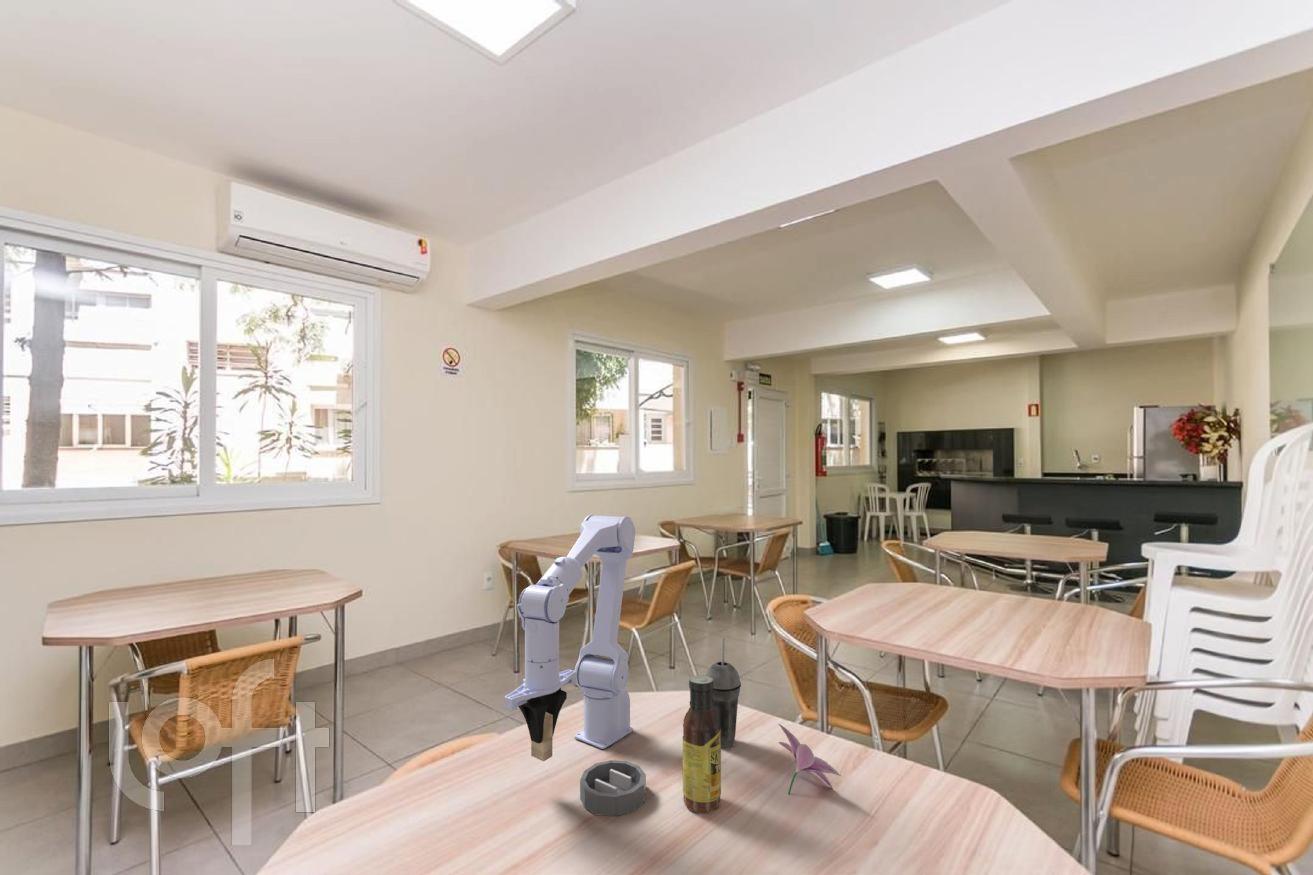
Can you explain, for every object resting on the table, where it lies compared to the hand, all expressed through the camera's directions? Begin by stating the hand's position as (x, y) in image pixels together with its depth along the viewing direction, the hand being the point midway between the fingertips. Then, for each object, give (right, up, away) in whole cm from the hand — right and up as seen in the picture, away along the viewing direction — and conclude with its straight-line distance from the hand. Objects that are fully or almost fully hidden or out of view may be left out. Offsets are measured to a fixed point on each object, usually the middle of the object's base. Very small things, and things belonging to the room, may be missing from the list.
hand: (542, 737), depth 98 cm
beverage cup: (+32, -9, +16) cm, 37 cm away
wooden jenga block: (0, -3, 0) cm, 3 cm away
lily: (+45, -9, +1) cm, 46 cm away
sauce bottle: (+27, -9, -4) cm, 28 cm away
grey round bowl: (+12, -9, -2) cm, 15 cm away
